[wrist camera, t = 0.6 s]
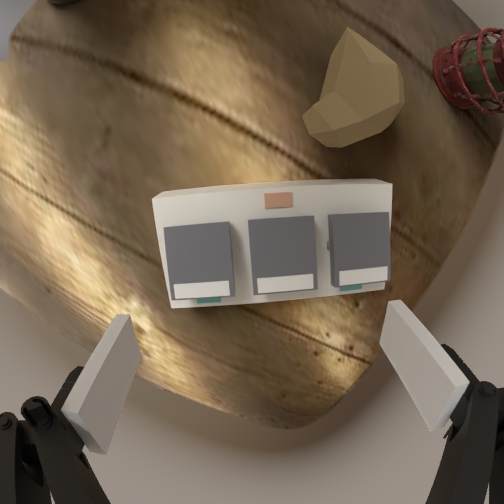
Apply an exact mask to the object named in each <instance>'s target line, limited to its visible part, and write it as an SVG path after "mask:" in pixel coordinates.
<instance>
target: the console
mask: <svg viewBox="0 0 504 504" xmlns="http://www.w3.org/2000/svg"><path fill="white" fill-rule="evenodd" d="M152 203H153V210H154V217H155V223H156V230H157V236H158V242H159V247H160V253H161V259H162V264H163V269H164V274H165V279H166V284H167V289H168V294H169V299H170V303H171V308H186V307H205V306H221V305H236V304H250V303H262V302H274V301H285V300H296V299H306V298H316V297H325V296H334V295H343V294H351V293H359V292H367V291H375V290H382V289H384V287H385V282H379V283H371V284H363V285H354V286H345V287H336V288H335V287H334V286H332V285H331V275H330V248H329V229H328V215H329V214H349V213H371V212H389V222H390V228H391V211H392V184H391V183H388V182H385V181H381V180H378V179H321V180H295V181H276V182H260V183H246V184H233V185H222V186H211V187H201V188H191V189H182V190H173V191H165V192H162V193H160V194H159V195H157V196H155V197H154V198H152ZM312 215H314V221H315V238H316V257H317V281H318V290H308V291H297V292H286V293H275V294H263V295H253V283H252V270H251V257H250V244H249V231H248V220H252V219H266V218H280V217H295V216H312ZM227 221H229V222H230V234H231V247H232V259H233V270H234V282H235V297H223V298H207V299H190V300H171V292H170V285H169V276H168V268H167V259H166V249H165V239H164V228H163V227H171V226H182V225H192V224H203V223H215V222H227Z"/></svg>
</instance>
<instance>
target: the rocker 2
mask: <svg viewBox="0 0 504 504" xmlns="http://www.w3.org/2000/svg"><path fill="white" fill-rule="evenodd" d="M328 229H329V248H330V275H331V285H332V286H334V287H335V288H336V287H345V286H354V285H363V284H371V283H379V282H387V281H391V252H390V222H389V212H371V213H349V214H329V215H328Z"/></svg>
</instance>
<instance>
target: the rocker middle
mask: <svg viewBox="0 0 504 504" xmlns="http://www.w3.org/2000/svg"><path fill="white" fill-rule="evenodd" d="M248 231H249V244H250V257H251V270H252V283H253V295H263V294H275V293H286V292H297V291H308V290H318V281H317V257H316V238H315V221H314V215H312V216H295V217H280V218H266V219H252V220H248Z"/></svg>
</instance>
